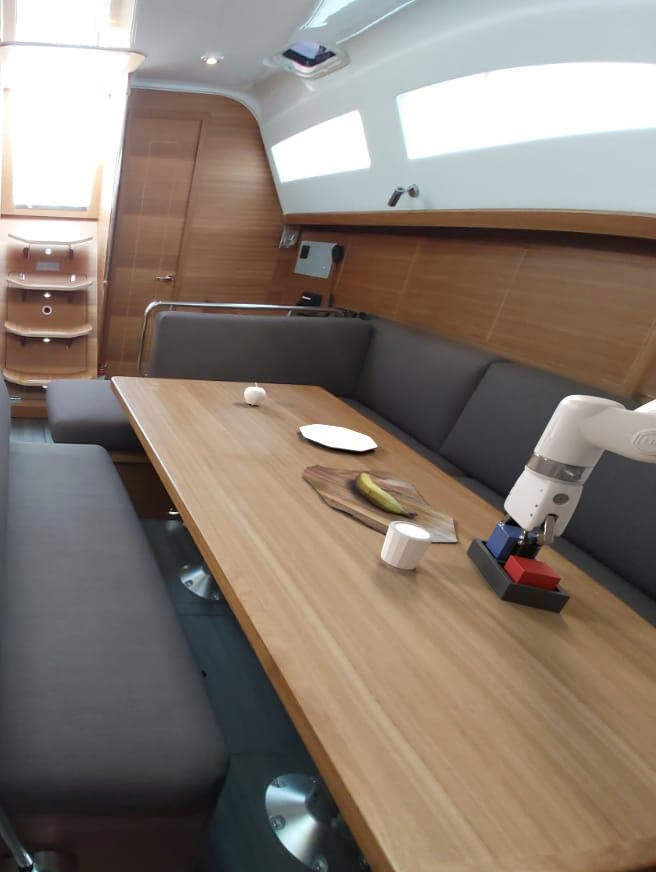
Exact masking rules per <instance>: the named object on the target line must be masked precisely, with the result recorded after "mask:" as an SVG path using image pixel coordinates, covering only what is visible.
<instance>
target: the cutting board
mask: <svg viewBox="0 0 656 872" xmlns="http://www.w3.org/2000/svg"><path fill="white" fill-rule="evenodd" d="M302 478H304V479H305V480H306V481H307V482H308V483H310V484H311V485H312V487H313V488H314V489H315V490H316V492H317V493H318V494H319V495H320V496H321V498H322V499H323V500H324V501H325V502H326V503H327V505H328V506H330V507H332V508H333V509H334V508H335V509H338V510H340V511H343V512H346V513H348V514H350V515H351V516H352V517H353V518H354V519H356V520H358V521H361V522H362V523H363V524H365V525H366V526H368V527H370V528H373V529H374V530H376V531H378V532H379V533H381V534H383V535H385V536H386V535H387V531H388V528H389V525H390V523H391V522H395V521H402V522H408V523H412V524H415V525H418V526H420V527H423V528H424V529H426V530H428V531H429V532H430V533H432V534H433V536H434V539H433V541H432V542H431V543H458V539H457V535H456V530H455V525H454V518H453V517H452V516H451V515H449V514H447V513H444V512H442V511H440V510H438V509H436V508H433V507H432V506H430V505H429V504H428V503H426V501H424V499H423V498H422V496H421V495H420V493H418V491H417V489H416V488H415V486H414V484H412V483H410V482H409V481H407V480H406V479H405V478H403V477H401V476H399V475H397V474H395V473H393V472H389V471H386V470H379V469H371V470H370V469H369V470H355V469H354V470H352V469H339V468H332V467H327V466H322V465H319V464H315V465H313V466H306V468H305V471H304V473H303V476H302Z"/></svg>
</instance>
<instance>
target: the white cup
mask: <svg viewBox="0 0 656 872" xmlns="http://www.w3.org/2000/svg"><path fill="white" fill-rule="evenodd" d="M433 539H434V536H433V534H432V533H430V532H429V531H428V530H426V529H424V528H423V527H420V526H418V525H415V524H412V523H408V522H402V521H395V522H391V523H390V525H389V528H388V531H387V535H385V538H384V542H383V546H382V549H381V552H380V558H381V560H382V561H384V562H385V563H387V564H388V565H389V566H392V567H395V568H396V569H400V570H407V571H411V570H415V569H416V567H417V566H418V565H419V563H420V561H421V560H422V558H423V556H424V555H425V553H426V552H427V550H428V549H429V547H430V546H431V544H432V543H433V542H432V541H433Z"/></svg>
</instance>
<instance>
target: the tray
mask: <svg viewBox="0 0 656 872" xmlns="http://www.w3.org/2000/svg"><path fill="white" fill-rule="evenodd" d="M487 541H488V539H482V538H477V537H474V538H473V539H472V541H471V543H470V544H469V547H468V549H467V551H466V553H467V555H468V556H469V558H470V559H471V560H472V562H473V563H474V564H475V566H476V567H477V569H478V570H479V572H480V573H481V574H482V576H483V577H484V579H485V580H486V582H488V584H489V585H490V587H491V588H492V590H493V591H494V592H495V594H496V595H497V596H498V598H499V600H502V601H506V602H509V603H514V604H519V605H524V606H529V607H532V608H538V609H540V610H541V609H542V610H546V611H549V612H553V613H554V612H555V613H561V612H562V610H563V609H564V607H565V606H566V605H567V603H568V601H569V600H570V599H571V595H570V594H569V593H568V592H567V591H566V590H565V589H564V588H563V587H562V586H561V585H560V583H558V584H557V586H556V587H555V589H554V591H552V590H547V589H543V588H538V587H533V586H529V585H524V584H520V583H515V582H513V581H512V580H511V579H510V577H509V576H508V575H507V574H506V572H505V571H504V570H503V568H504V566H505V564H506V563H507V561H505V560H500V559H497V558H496V557H495V556H494V555H493V553H492V552H491V551H490V550H489V548H488V547H487V546H486V543H487ZM534 560H537V558H535V559H534Z"/></svg>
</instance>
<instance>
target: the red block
mask: <svg viewBox="0 0 656 872" xmlns="http://www.w3.org/2000/svg"><path fill="white" fill-rule="evenodd" d="M503 570H504V571H505V572H506V574H507V575H508V576H509V577H510V579H511V580H512V581H513V582H515V583H520V584H524V585H529V586H533V587H538V588H543V589H547V590H552V591H554V589H555V587H556V586H557V584H560V582H561V580H562V577H560V576H559V575H558V574H557V573H556V571H554V569H553V568H552V567H551V566H550V565H549V564H548V563H547V562H546V561H541V560H537V559H536V560H532V559H527V558H522V557H517V556H512V555H511V556H510V557H509V559H508V561H507V563H506V564H505V566H504V568H503Z"/></svg>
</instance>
